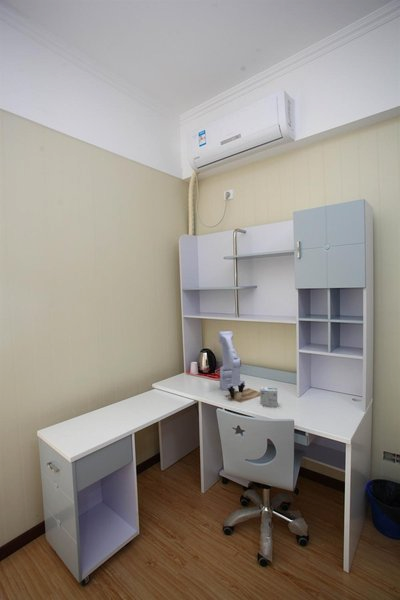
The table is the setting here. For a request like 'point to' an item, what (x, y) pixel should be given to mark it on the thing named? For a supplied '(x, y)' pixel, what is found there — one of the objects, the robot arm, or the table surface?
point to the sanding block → (237, 395)
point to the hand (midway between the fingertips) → (236, 396)
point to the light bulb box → (268, 396)
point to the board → (246, 395)
